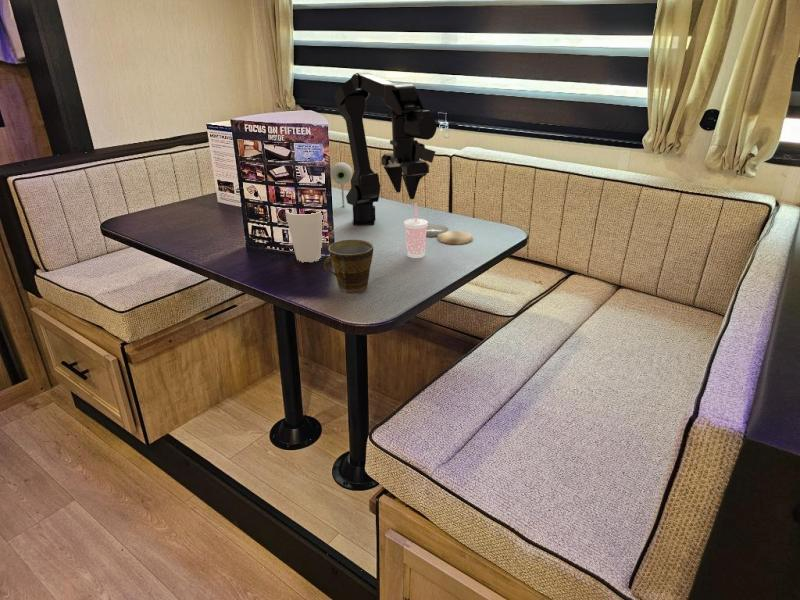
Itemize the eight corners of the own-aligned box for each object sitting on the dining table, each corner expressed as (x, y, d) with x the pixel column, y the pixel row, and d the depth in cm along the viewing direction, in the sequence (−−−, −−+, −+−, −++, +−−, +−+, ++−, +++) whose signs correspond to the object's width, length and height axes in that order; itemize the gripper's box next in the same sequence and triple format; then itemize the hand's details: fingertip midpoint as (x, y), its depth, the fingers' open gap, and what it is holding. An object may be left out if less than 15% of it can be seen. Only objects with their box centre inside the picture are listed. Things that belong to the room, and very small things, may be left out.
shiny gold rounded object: (439, 244, 149) (439, 242, 149) (435, 233, 158) (435, 231, 158) (475, 243, 150) (475, 241, 149) (469, 232, 159) (469, 230, 158)
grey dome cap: (415, 237, 155) (415, 235, 155) (413, 226, 164) (413, 224, 164) (450, 236, 156) (450, 234, 155) (445, 225, 165) (445, 223, 164)
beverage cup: (405, 250, 146) (405, 199, 140) (428, 251, 145) (428, 199, 139) (403, 258, 140) (402, 205, 134) (426, 259, 139) (427, 206, 133)
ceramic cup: (353, 276, 130) (351, 236, 126) (384, 286, 124) (382, 245, 120) (312, 293, 122) (308, 251, 117) (342, 306, 116) (339, 262, 111)
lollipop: (332, 210, 181) (329, 164, 175) (333, 204, 188) (330, 160, 181) (354, 209, 182) (351, 164, 175) (353, 203, 188) (351, 159, 182)
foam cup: (332, 253, 144) (329, 205, 139) (318, 266, 136) (314, 216, 131) (299, 250, 147) (295, 203, 141) (284, 262, 139) (278, 213, 133)
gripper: (447, 137, 136) (447, 199, 143) (416, 130, 152) (417, 185, 158) (407, 141, 132) (408, 204, 139) (379, 133, 148) (382, 190, 154)
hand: (405, 195), depth 148 cm, fingers open, 9 cm apart
